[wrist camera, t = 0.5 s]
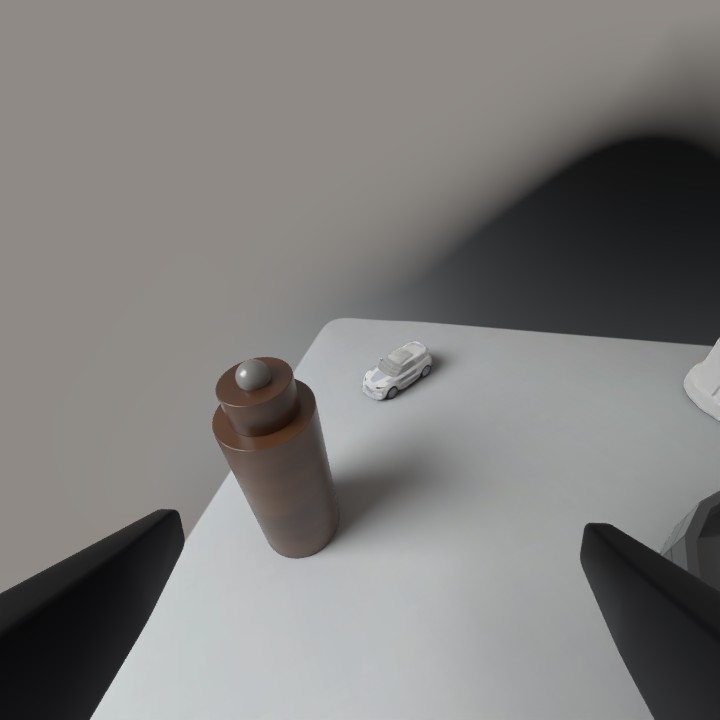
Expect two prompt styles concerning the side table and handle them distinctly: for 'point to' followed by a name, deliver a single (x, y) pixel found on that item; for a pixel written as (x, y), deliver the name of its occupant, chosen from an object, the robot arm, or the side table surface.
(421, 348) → the toy car
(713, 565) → the pan
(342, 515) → the side table surface
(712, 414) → the cup
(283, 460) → the pepper mill
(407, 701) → the side table surface
